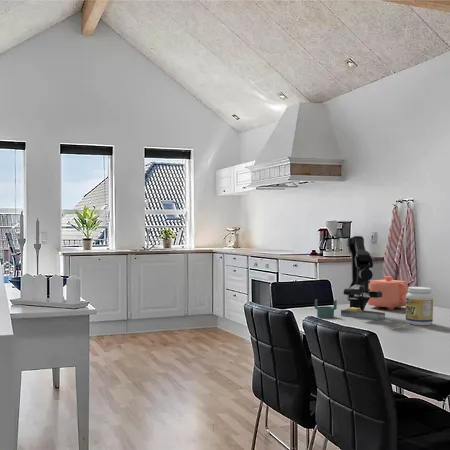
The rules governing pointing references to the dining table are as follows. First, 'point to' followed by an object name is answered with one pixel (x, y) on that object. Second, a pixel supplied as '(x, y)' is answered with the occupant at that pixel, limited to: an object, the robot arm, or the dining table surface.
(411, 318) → the supplement tub
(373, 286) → the teapot
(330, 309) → the bracket
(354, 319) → the pad
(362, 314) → the rail
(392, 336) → the dining table surface
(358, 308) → the block
